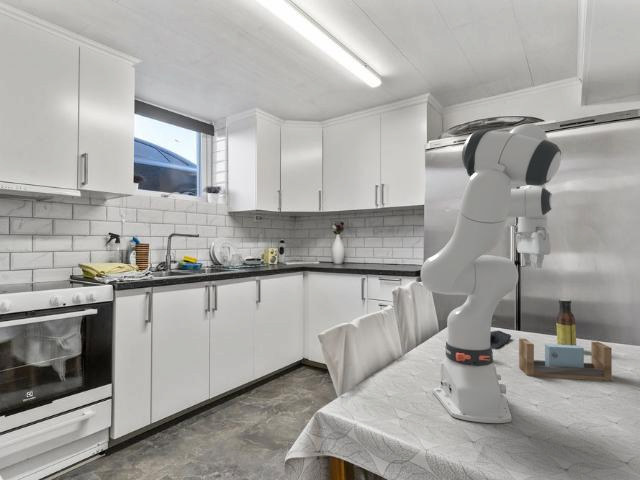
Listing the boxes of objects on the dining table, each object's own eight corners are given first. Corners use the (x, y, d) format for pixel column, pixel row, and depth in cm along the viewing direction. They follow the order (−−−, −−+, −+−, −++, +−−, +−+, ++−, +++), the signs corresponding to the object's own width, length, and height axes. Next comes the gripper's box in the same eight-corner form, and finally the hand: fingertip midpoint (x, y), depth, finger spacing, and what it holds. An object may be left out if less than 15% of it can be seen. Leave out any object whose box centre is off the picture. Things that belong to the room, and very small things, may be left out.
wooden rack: (612, 381, 110) (612, 348, 110) (527, 375, 115) (527, 344, 115) (597, 371, 118) (597, 341, 118) (518, 367, 122) (518, 337, 122)
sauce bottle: (570, 347, 145) (570, 298, 145) (580, 352, 139) (579, 301, 139) (553, 347, 146) (553, 298, 146) (562, 351, 140) (561, 300, 140)
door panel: (585, 374, 113) (585, 349, 113) (550, 372, 115) (550, 347, 115) (578, 370, 117) (578, 345, 117) (545, 368, 119) (545, 344, 119)
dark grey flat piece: (518, 341, 156) (518, 330, 156) (495, 351, 142) (495, 339, 142) (483, 334, 168) (483, 324, 168) (459, 343, 154) (459, 332, 154)
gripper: (556, 226, 115) (556, 269, 115) (530, 228, 136) (531, 265, 135) (534, 226, 117) (534, 269, 117) (512, 228, 137) (513, 265, 137)
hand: (532, 266), depth 126 cm, fingers open, 8 cm apart
